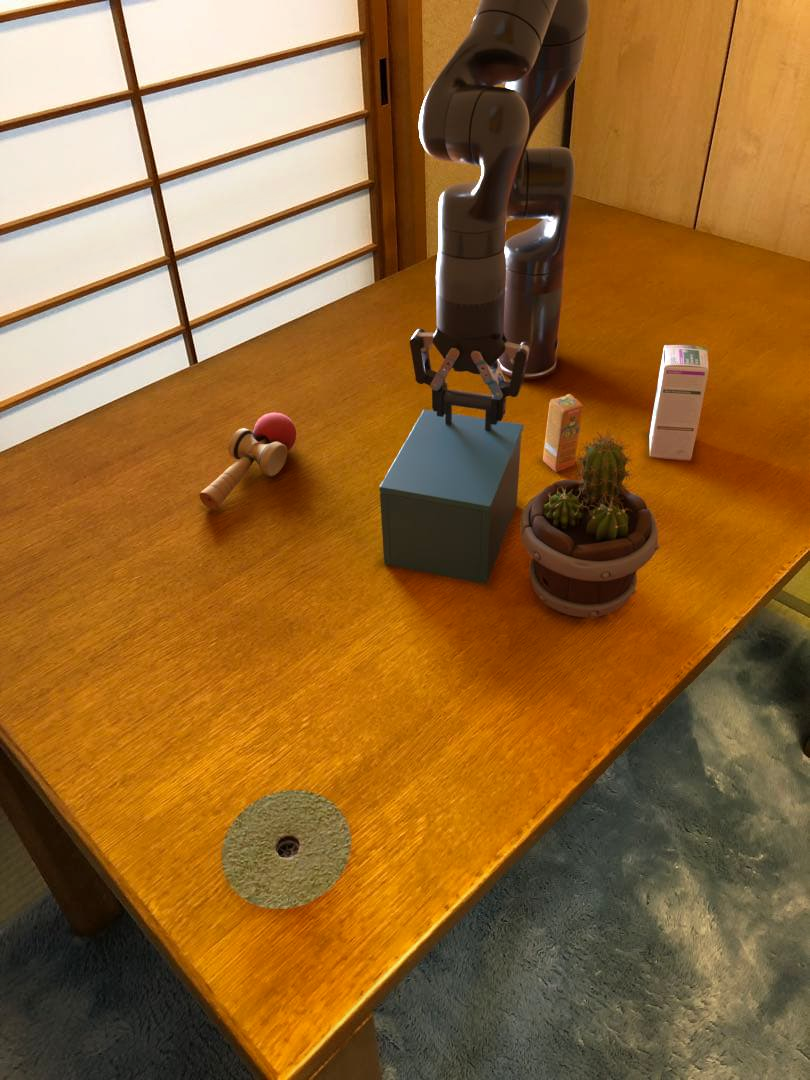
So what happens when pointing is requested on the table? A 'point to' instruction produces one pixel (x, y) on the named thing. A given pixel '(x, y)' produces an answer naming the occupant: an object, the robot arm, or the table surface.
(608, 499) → the flowerpot
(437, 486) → the lid
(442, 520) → the bin
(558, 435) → the supplement box
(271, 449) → the kendama
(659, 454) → the syrup box
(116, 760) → the table surface
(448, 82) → the robot arm
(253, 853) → the mat
